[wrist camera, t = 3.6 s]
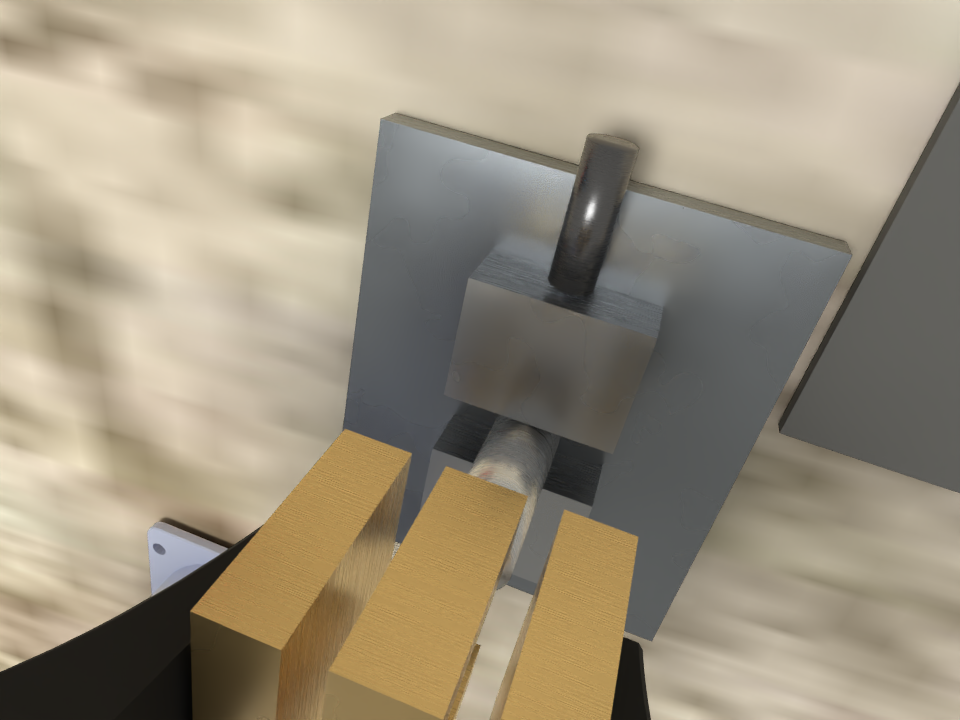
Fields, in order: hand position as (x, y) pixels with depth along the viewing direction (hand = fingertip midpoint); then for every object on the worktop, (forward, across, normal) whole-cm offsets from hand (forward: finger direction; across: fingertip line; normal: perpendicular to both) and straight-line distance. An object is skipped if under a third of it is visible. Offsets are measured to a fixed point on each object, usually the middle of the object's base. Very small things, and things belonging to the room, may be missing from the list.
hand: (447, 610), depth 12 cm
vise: (+7, 0, 0) cm, 7 cm away
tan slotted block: (+1, 0, 0) cm, 1 cm away
